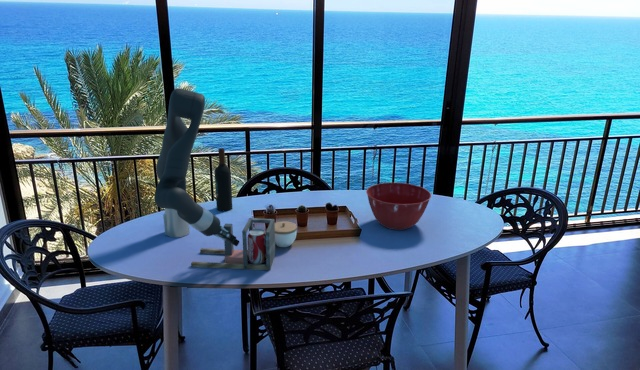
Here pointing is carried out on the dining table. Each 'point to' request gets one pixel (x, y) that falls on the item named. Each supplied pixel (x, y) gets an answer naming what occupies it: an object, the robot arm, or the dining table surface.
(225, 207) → the wine bottle
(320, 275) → the dining table surface
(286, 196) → the dining table surface
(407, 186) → the mixing bowl
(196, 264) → the grey bar frame
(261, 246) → the soda can
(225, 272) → the dining table surface
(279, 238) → the lidded jar
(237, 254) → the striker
